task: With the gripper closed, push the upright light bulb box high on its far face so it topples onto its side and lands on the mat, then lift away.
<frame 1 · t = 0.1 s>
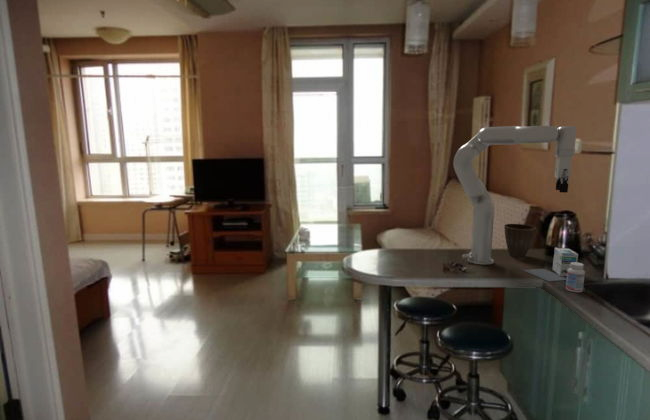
hand: (561, 191, 190), 37 cm above the countertop, tool pointing down, fingers open, 9 cm apart
light bulb box: (563, 273, 188), on the countertop, touching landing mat
pill bottle: (574, 290, 167), on the countertop
plant pot: (517, 256, 218), on the countertop
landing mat: (545, 275, 186), on the countertop
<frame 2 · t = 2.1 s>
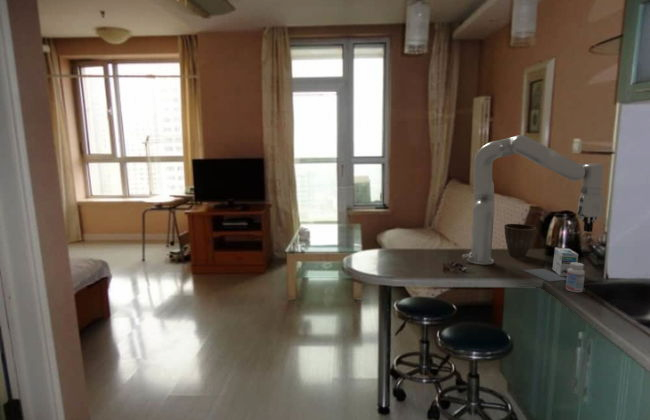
hand: (587, 231, 187), 19 cm above the countertop, tool pointing down, fingers closed
nothing on the countertop moved.
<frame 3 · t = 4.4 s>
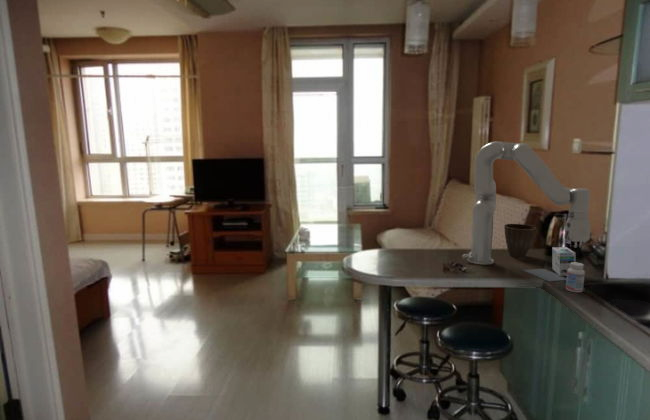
hand: (574, 255, 188), 8 cm above the countertop, tool pointing down, fingers closed
light bulb box: (563, 273, 188), on the countertop, touching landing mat
everything else where it was.
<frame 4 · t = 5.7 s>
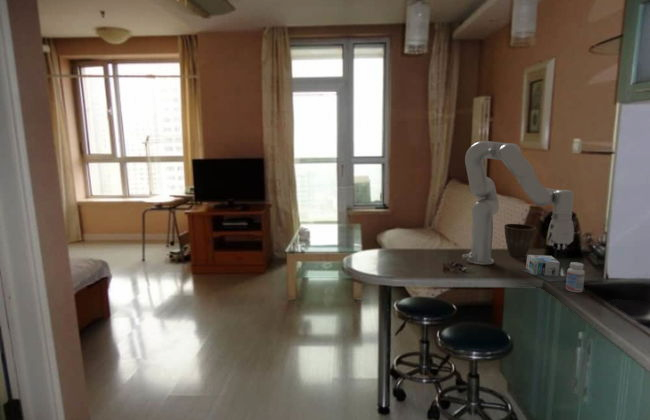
hand: (557, 257, 186), 8 cm above the countertop, tool pointing down, fingers closed
light bulb box: (555, 265, 188), point 4 cm above the countertop, touching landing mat
everything else where it was.
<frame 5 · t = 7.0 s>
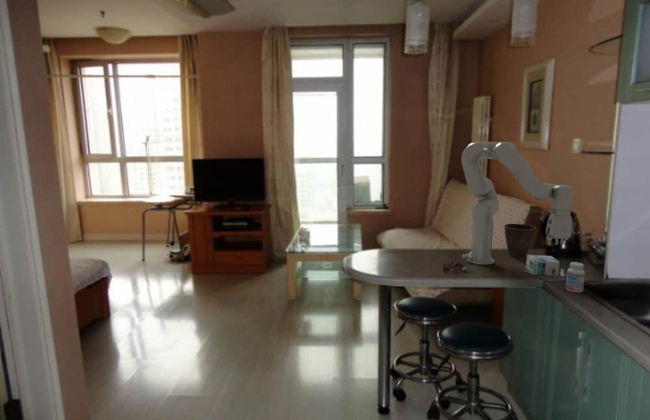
hand: (555, 252, 186), 10 cm above the countertop, tool pointing down, fingers closed
nothing on the countertop moved.
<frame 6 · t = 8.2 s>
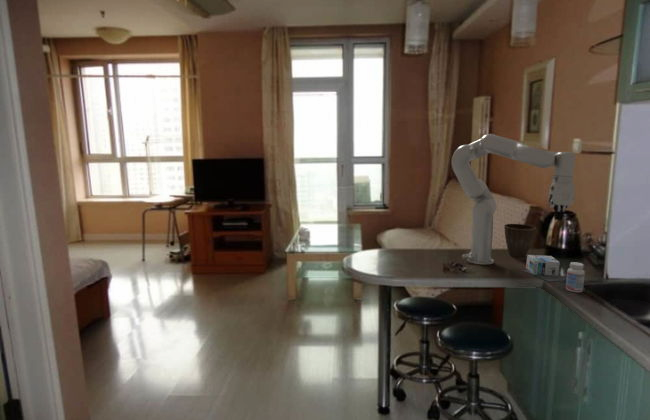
hand: (558, 219, 188), 25 cm above the countertop, tool pointing down, fingers closed
nothing on the countertop moved.
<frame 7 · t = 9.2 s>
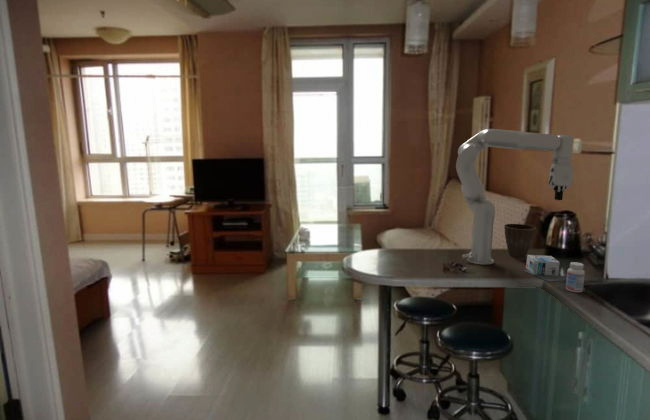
hand: (558, 199, 198), 32 cm above the countertop, tool pointing down, fingers closed
nothing on the countertop moved.
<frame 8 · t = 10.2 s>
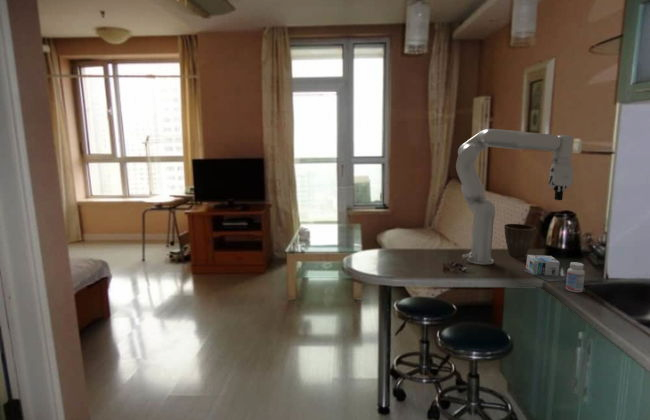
hand: (558, 199, 198), 32 cm above the countertop, tool pointing down, fingers closed
nothing on the countertop moved.
at the end: light bulb box tilted 89°; light bulb box inside the target area on the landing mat (1.6 cm from its centre), point 3.5 cm above the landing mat's base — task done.
